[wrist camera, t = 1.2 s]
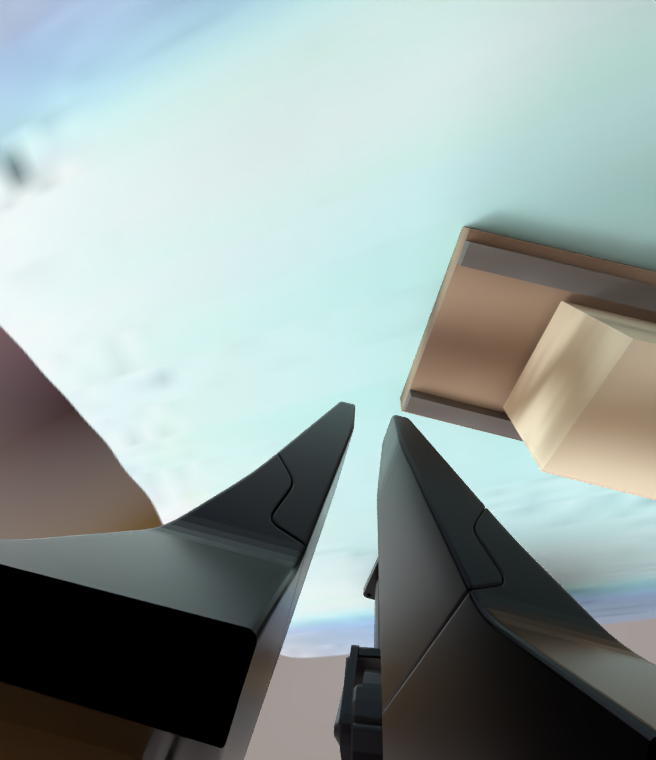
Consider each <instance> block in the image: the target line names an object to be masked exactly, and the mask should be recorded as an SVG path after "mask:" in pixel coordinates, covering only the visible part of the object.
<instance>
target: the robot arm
mask: <svg viewBox="0 0 656 760" xmlns="http://www.w3.org/2000/svg"><path fill="white" fill-rule="evenodd" d="M354 418H355V406H354V405H353V404H349V403H346V402H339V403H338V404H337V405H336V406H335V407H333V408H332V409H331V410H330V411H328V412H327V413H326V414H325V415H324V416H322V417H321V418H320V419H319V420H317V421H316V422H315V423H314V424H312V425H311V426H310V427H309V428H308V429H306V430H305V431H304V432H303V433H301V434H300V435H299V436H298V437H297V438H295V439H294V440H293V441H292V442H290V443H289V444H288V445H287V446H285V447H284V448H283V449H282V450H281V451H279V452H278V453H277V455H274V456H273V457H272V458H271V459H269V460H268V461H267V462H266V463H264V464H263V465H262V466H260V467H259V468H258V469H256V470H255V471H254V472H252V473H251V474H249V475H248V476H246V477H245V478H243V479H242V480H240V481H239V482H237V483H236V484H234V485H232V486H231V487H229V488H228V489H226V490H224V491H223V492H221V493H219V494H218V495H216V496H214V497H213V498H211V499H209V500H208V501H206V502H205V503H203V504H201V505H200V506H198V507H196V508H195V509H193V510H191V511H190V512H188V513H186V514H185V515H183V516H181V517H179V518H178V519H176V520H174V521H171V522H169V523H167V524H165V525H162V526H159V527H156V528H151V529H147V530H136V531H124V532H112V533H99V534H87V535H75V536H63V537H51V538H39V539H23V540H22V539H20V540H0V760H244V757H245V754H246V751H247V748H248V745H249V742H250V740H251V736H252V734H253V731H254V728H255V725H256V722H257V719H258V716H259V713H260V710H261V707H262V704H263V701H264V698H265V695H266V693H267V690H268V687H269V684H270V680H271V678H272V675H273V672H274V669H275V666H276V663H277V660H278V657H279V654H280V651H281V648H282V645H283V643H284V640H285V637H286V634H287V631H288V628H289V625H290V622H291V619H292V616H293V613H294V610H295V607H296V604H297V601H298V598H299V596H300V593H301V590H302V587H303V584H304V581H305V578H306V575H307V572H308V569H309V566H310V563H311V560H312V557H313V554H314V551H315V549H316V546H317V543H318V540H319V537H320V534H321V531H322V528H323V525H324V522H325V519H326V516H327V513H328V510H329V507H330V504H331V502H332V499H333V496H334V493H335V489H336V486H337V483H338V479H339V476H340V473H341V470H342V466H343V463H344V460H345V456H346V453H347V450H348V446H349V443H350V440H351V436H352V433H353V429H354ZM484 508H485V506H484V504H483V503H482V502H481V501H480V500H479V499H478V498H477V496H476V495H475V494H474V493H473V492H472V491H471V490H470V488H469V487H468V486H467V485H466V484H465V483H464V482H463V480H462V479H461V478H460V477H459V476H458V475H457V474H456V472H455V471H454V470H453V469H452V468H451V467H450V465H449V464H448V463H447V462H446V461H445V460H444V459H443V457H442V456H441V455H440V454H439V453H438V452H437V451H436V449H435V448H434V447H433V446H432V445H431V444H430V443H429V441H428V440H427V439H426V438H425V437H424V436H423V435H422V433H421V432H420V431H419V430H418V429H417V428H416V427H415V425H414V424H413V423H412V422H411V421H410V420H409V419H408V418H405V417H401V416H397V415H394V416H393V417H392V418H391V421H390V423H389V426H388V429H387V432H386V434H385V437H384V440H383V445H382V453H381V462H380V472H379V481H378V492H377V518H378V558H377V560H376V563H375V565H374V567H373V569H372V572H371V574H370V576H369V578H368V580H367V583H366V585H365V587H364V593H363V595H364V596H365V597H366V598H370V599H373V600H375V624H374V648H367V647H359V645H352V646H351V653H350V656H349V657H348V658H346V668H345V680H344V687H343V692H342V696H341V700H340V704H339V709H338V713H337V717H336V721H335V725H334V736H335V738H336V740H337V742H338V744H339V745H340V752H341V758H342V759H341V760H656V665H655V664H653V663H651V662H649V661H648V660H646V659H644V658H642V657H641V656H639V655H638V654H636V653H634V652H633V651H632V650H630V649H629V648H627V647H626V646H624V645H623V644H622V643H620V642H619V641H618V640H617V639H615V638H614V637H613V636H612V635H610V634H609V633H608V632H607V631H606V630H605V629H603V627H602V626H601V625H599V624H598V623H597V622H596V621H595V620H594V619H593V618H592V617H591V616H590V615H589V614H588V613H587V612H586V611H585V610H584V609H583V608H582V607H581V606H580V605H579V604H578V603H577V602H576V601H575V600H574V599H573V598H572V597H571V596H570V595H569V594H568V593H567V592H566V591H565V590H564V589H563V588H562V587H561V586H560V585H559V584H558V583H557V582H556V581H555V580H554V579H553V578H552V577H551V576H550V575H549V574H548V573H547V572H546V571H545V570H544V569H543V568H542V567H541V566H540V565H539V564H538V563H537V562H536V561H535V560H534V559H533V558H532V557H531V556H530V555H529V554H528V553H527V552H526V551H525V549H524V548H523V547H522V546H521V545H520V544H519V543H518V542H517V541H516V540H515V539H514V538H513V537H512V536H511V535H510V534H509V532H508V531H507V530H506V529H505V528H504V527H503V526H502V525H501V524H500V523H499V521H498V520H497V519H496V518H495V517H494V516H493V515H492V513H491V512H490V511H489V510H488V509H487V508H485V509H484Z"/></svg>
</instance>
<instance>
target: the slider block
mask: <svg viewBox="0 0 656 760" xmlns="http://www.w3.org/2000/svg"><path fill="white" fill-rule="evenodd" d="M503 408H504V410H505V412H506V413H507V415H508V417H509V418H510V420H511V422H512V423H513V425H514V427H515V428H516V430H517V432H518V433H519V435H520V437H521V438H522V440H523V442H524V443H525V445H526V447H527V448H528V450H529V452H530V453H531V455H532V457H533V458H534V460H535V462H536V463H537V465H538V467H539V468H540V470H541V471H542V472H546V473H550V474H554V475H558V476H562V477H566V478H570V479H574V480H578V481H582V482H586V483H590V484H594V485H598V486H602V487H605V488H609V489H613V490H617V491H621V492H625V493H629V494H633V495H637V496H641V497H645V498H649V499H653V500H656V323H653V322H649V321H645V320H640V319H636V318H632V317H628V316H624V315H619V314H615V313H611V312H607V311H603V310H598V309H594V308H590V307H586V306H582V305H577V304H573V303H569V302H565V301H561V302H560V304H559V306H558V308H557V310H556V312H555V313H554V315H553V317H552V319H551V321H550V322H549V324H548V326H547V328H546V330H545V332H544V333H543V335H542V337H541V339H540V341H539V342H538V344H537V346H536V348H535V350H534V352H533V353H532V355H531V357H530V359H529V361H528V363H527V364H526V366H525V368H524V370H523V372H522V373H521V375H520V377H519V379H518V381H517V383H516V384H515V386H514V388H513V390H512V392H511V393H510V395H509V397H508V399H507V401H506V403H505V404H504V406H503Z"/></svg>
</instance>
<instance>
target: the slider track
mask: <svg viewBox="0 0 656 760" xmlns="http://www.w3.org/2000/svg"><path fill="white" fill-rule="evenodd" d="M561 301H565V302H569V303H573V304H577V305H582V306H586V307H590V308H594V309H598V310H603V311H607V312H611V313H615V314H619V315H624V316H628V317H632V318H636V319H640V320H645V321H649V322H653V323H656V272H655V271H650V270H646V269H642V268H638V267H633V266H629V265H625V264H620V263H616V262H612V261H608V260H603V259H599V258H595V257H591V256H586V255H582V254H578V253H574V252H569V251H565V250H561V249H556V248H552V247H548V246H544V245H539V244H535V243H531V242H527V241H522V240H518V239H514V238H510V237H505V236H501V235H497V234H492V233H488V232H484V231H480V230H475V229H471V228H467V227H463V228H462V230H461V233H460V236H459V239H458V241H457V244H456V247H455V250H454V252H453V255H452V258H451V261H450V263H449V266H448V269H447V272H446V274H445V277H444V280H443V282H442V285H441V288H440V291H439V293H438V296H437V299H436V302H435V304H434V307H433V310H432V313H431V315H430V318H429V321H428V324H427V326H426V329H425V332H424V335H423V337H422V340H421V343H420V345H419V348H418V351H417V354H416V356H415V359H414V362H413V365H412V367H411V370H410V373H409V376H408V378H407V381H406V384H405V387H404V389H403V392H402V395H401V398H400V399H401V409H402V411H404V412H408V413H412V414H416V415H420V416H424V417H428V418H432V419H436V420H440V421H444V422H448V423H452V424H456V425H460V426H464V427H468V428H472V429H476V430H480V431H484V432H488V433H492V434H496V435H500V436H504V437H508V438H512V439H516V440H520V441H523V440H522V438H521V437H520V435H519V433H518V432H517V430H516V428H515V427H514V425H513V423H512V422H511V420H510V418H509V417H508V415H507V413H506V412H505V410H504V408H503V406H504V404H505V403H506V401H507V399H508V397H509V395H510V393H511V392H512V390H513V388H514V386H515V384H516V383H517V381H518V379H519V377H520V375H521V373H522V372H523V370H524V368H525V366H526V364H527V363H528V361H529V359H530V357H531V355H532V353H533V352H534V350H535V348H536V346H537V344H538V342H539V341H540V339H541V337H542V335H543V333H544V332H545V330H546V328H547V326H548V324H549V322H550V321H551V319H552V317H553V315H554V313H555V312H556V310H557V308H558V306H559V304H560V302H561Z"/></svg>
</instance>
